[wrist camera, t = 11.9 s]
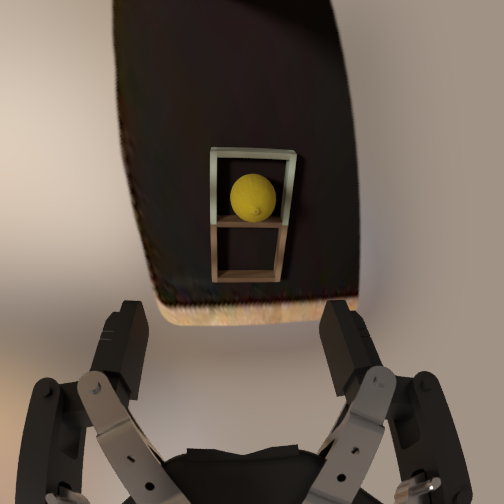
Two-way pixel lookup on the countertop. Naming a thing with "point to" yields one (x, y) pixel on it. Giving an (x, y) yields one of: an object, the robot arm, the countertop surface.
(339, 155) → the countertop surface
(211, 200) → the frame
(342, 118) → the countertop surface
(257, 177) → the lemon
